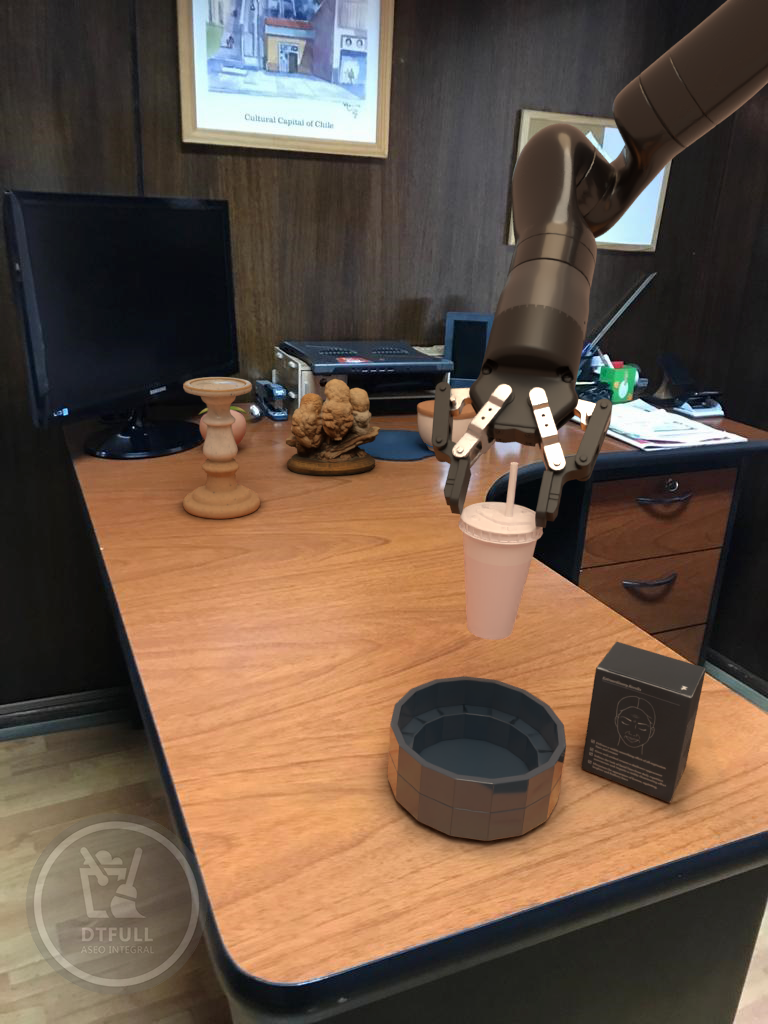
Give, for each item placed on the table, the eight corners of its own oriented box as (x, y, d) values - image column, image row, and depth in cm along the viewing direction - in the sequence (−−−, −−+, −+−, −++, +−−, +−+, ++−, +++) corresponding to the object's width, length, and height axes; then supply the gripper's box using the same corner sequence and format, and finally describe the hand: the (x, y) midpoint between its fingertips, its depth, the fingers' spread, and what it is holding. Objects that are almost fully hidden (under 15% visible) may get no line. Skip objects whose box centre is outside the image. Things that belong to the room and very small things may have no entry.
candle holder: (210, 489, 133) (205, 372, 126) (273, 500, 129) (272, 380, 122) (167, 511, 122) (159, 385, 115) (235, 524, 118) (231, 394, 111)
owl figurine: (370, 456, 156) (373, 371, 150) (386, 473, 146) (391, 384, 140) (281, 459, 151) (281, 372, 145) (292, 478, 141) (292, 385, 135)
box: (685, 769, 69) (708, 666, 65) (669, 806, 64) (693, 697, 60) (599, 737, 73) (615, 638, 69) (578, 769, 68) (595, 665, 64)
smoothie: (512, 658, 58) (533, 482, 53) (436, 633, 61) (449, 464, 56) (541, 622, 63) (563, 459, 58) (469, 601, 66) (484, 444, 61)
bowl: (551, 742, 72) (559, 686, 69) (562, 858, 58) (572, 794, 56) (399, 723, 73) (402, 668, 71) (376, 832, 60) (379, 768, 58)
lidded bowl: (466, 440, 170) (470, 391, 166) (481, 457, 159) (485, 404, 155) (410, 440, 169) (413, 390, 165) (420, 457, 157) (423, 403, 153)
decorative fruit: (209, 459, 149) (207, 408, 146) (195, 448, 156) (193, 399, 152) (254, 454, 154) (254, 405, 150) (240, 443, 160) (239, 396, 157)
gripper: (446, 294, 62) (394, 479, 55) (633, 307, 58) (600, 508, 51) (457, 352, 68) (411, 523, 62) (625, 367, 64) (595, 552, 58)
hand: (497, 515), depth 57 cm, fingers closed on smoothie, 5 cm apart
